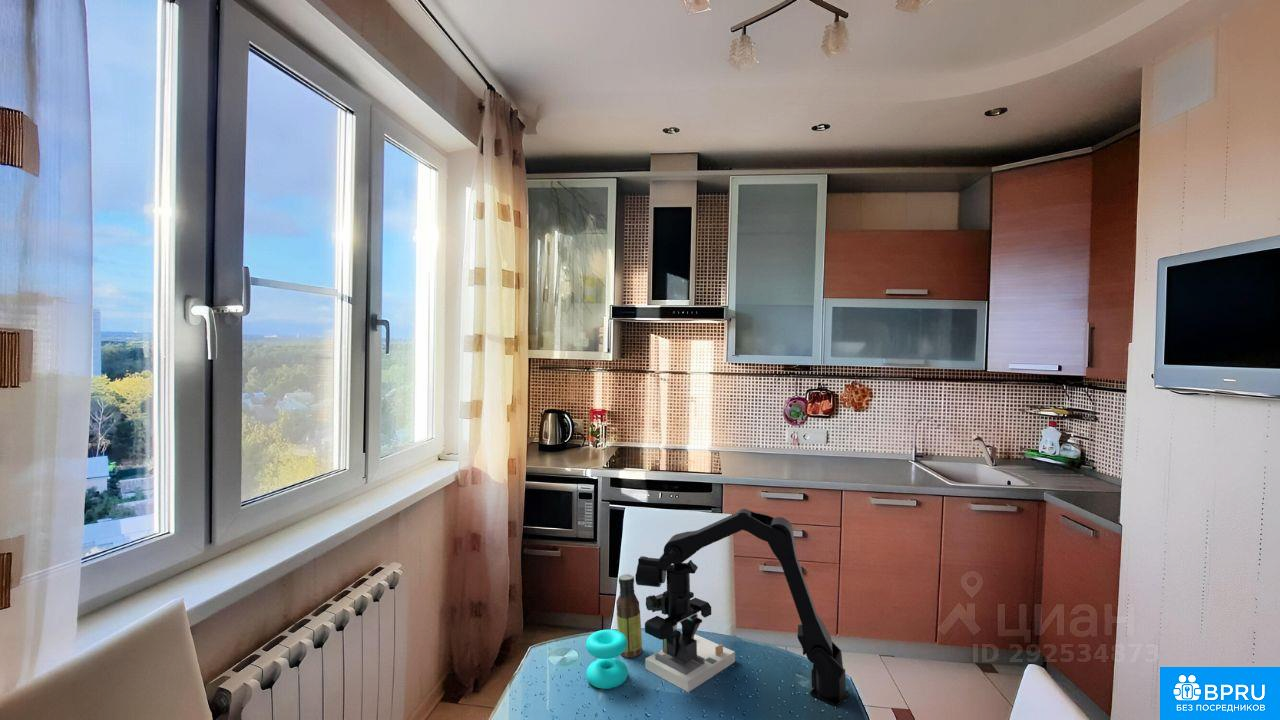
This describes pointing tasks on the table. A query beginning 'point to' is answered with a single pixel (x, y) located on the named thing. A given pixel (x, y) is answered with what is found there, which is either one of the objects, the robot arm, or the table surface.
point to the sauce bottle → (629, 616)
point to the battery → (683, 649)
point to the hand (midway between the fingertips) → (679, 652)
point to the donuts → (606, 659)
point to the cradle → (691, 664)
